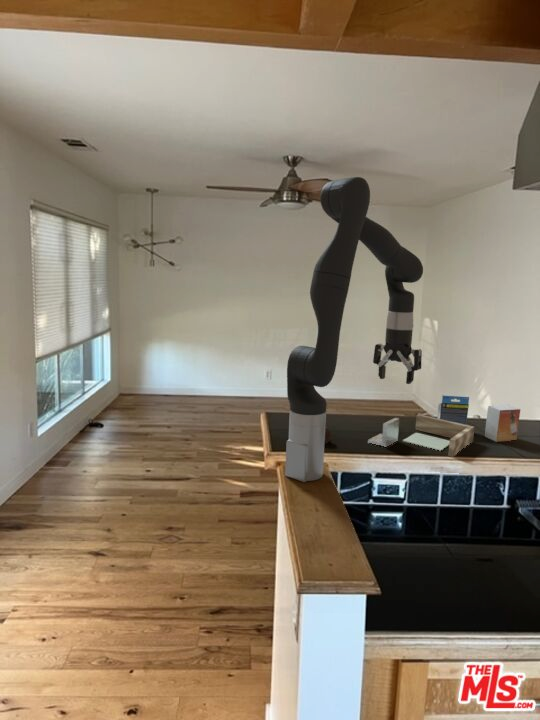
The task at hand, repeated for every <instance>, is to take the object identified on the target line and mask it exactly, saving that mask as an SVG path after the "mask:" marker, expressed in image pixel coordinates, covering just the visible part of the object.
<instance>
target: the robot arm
mask: <svg viewBox="0 0 540 720" xmlns="http://www.w3.org/2000/svg"><path fill="white" fill-rule="evenodd" d="M368 183H369V182H368V181H367V180H366V179H365V178H363V177H361V176H351V177H346V178H345V177H344V178H339V179H335V180H331V181H328V182H327V183H325V184H324V185H323V187H322V189H321V191H320V197H319V200H320V205H321V208H322V210H323V211H324V213H325V214H326V215H327V216H328V217H330V218H331V220H333V221H335V222H336V223H337V225H338V226H337V228H336V231H335V233H334V235H333V237H332V239H331V240H330V243H329V244H327V245H326V246H327V247H326V248H325V249H324V251H323V252H322V254H321V255H320V256H319V258H318V260H317V261H316V264H315V265H314V268H313V272H312V273H313V274H312V278H311V284H310V290H309V295H310V302H311V305H312V308H313V311H314V316H315V318H316V323H317V338H316V342H315V343H316V344H315V347H312V346H308V345H299V346H296V347H294V348H293V349H292V350H291V352H290V354H289V356H288V360H287V365H286V380H287V381H286V390H287V391H286V394H287V400H288V402H289V418H288V419H289V421H288V440H286V443H285V444H286V448H285V449H286V450H285V476H286V477H288V478H291V479H294V480H297V481H300V482H303V483H306V482H310V481H317V480H319V479H321V478H322V477H323V476H324V458H325V445H326V444H325V427H326V422H327V400H326V398H325V397H323V396H322V395H321V394H320V393H319V392H318V391H317V390H316V388H315V387H318V388H324V387H327V386H328V385H329V384H330V383H331V382H332V380H333V378H334V376H335V373H336V367H337V362H338V355H339V353H338V352H339V346H340V336H341V335H340V334H341V327H342V321H343V318H344V311H345V307H346V306H345V305H346V302H347V298H348V292H349V289H350V285H351V284H350V283H351V280H352V279H351V277H352V273H353V272H352V271H353V266H354V261H355V257H356V253H357V249H358V246H359V245H358V244H359V241H360V242H361V243H362V244H363V245H364V246H365V247H366V248H367V249H368V251H370V252H371V254H372V255H373V256H374V257H375V258H376V260H377V261H378V262H380V264H382V265H384V266H385V269H384V277H385V282H386V286H387V293H388V296H389V299H388V310H387V311H388V312H387V316H386V327H385V328H386V329H385V341H384V342H385V344H382V343H378V344H375V346H374V353H373V359H372V363H373V364H375V365H376V366H378V373H377V374H378V375H377V376H378V377H379V379H380V380H384V379H385V378H386V371H387V370H386V368H387V366H386V365H387V363H388V362H391V361H392V362H398V363H402V364H403V365H404V366H405V367H406V370H407V371H406V381H405V382H406V383H405V384H407V385H410V384H412V383H413V382H414V378H415V376H414V375H415V371H418V370H422V358H423V357H422V356H423V355H422V352H423V350H422V349H421V348H419V349H418V348H417V349H415V348H412V342H413V333H414V331H413V330H414V306H415V295H414V293H413V292H412V291H409V290H407V289H405V287H404V284H403V283H407V284H409V283H410V284H412V283H416V282H418V281H419V280H421V278H422V276H423V275H424V274H423V273H424V266H423V263H422V261H421V260H420V258H418V257H417V255H415V254H414V253H413V252H411V251H410V250H409V249H407V248H406V247H403V246H402V245H401V243H400V242H399V241H398V240H397V239H396V238H395V237H394V235H393V234H392V233H391V232H390V230H388V229H387V228H386V227H384V226H383V225H381V224H379V223H378V222H376V221H374V220H372V219H370V218H369V217H368V216H367V215H368V211H369V207H370V202H371V201H370V200H371V189H370V186H369V184H368ZM383 351H384V352H385V355H384V356H383V357H382V352H383ZM411 354H412V357H413V360H412V359H411V357H410V356H411Z"/></svg>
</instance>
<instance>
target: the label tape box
mask: <svg viewBox="0 0 540 720" xmlns="http://www.w3.org/2000/svg"><path fill="white" fill-rule="evenodd" d="M441 397H442V399H441V403H438V407H437V416H436V418H438V419H442V420H447V421H451V422H456V423H460V424H465V425H467V424H468V423H467V421H468V415H469V414H468V413H469V405H470V396H457V395H456V396H455V395H444V394H442V396H441ZM453 400H454V401H453ZM455 400H457V401H455Z"/></svg>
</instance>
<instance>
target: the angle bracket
mask: <svg viewBox="0 0 540 720" xmlns="http://www.w3.org/2000/svg"><path fill="white" fill-rule="evenodd" d="M399 428H400V418H399V417H394V418H392V419H390V420H388V421H386V422H383V423H382V433H379V434H377V435H375V436H373V437H371V438H369V439H368V440H367V444H369V443H372V444H376V445H381V446H384V447H387V446H389V445H391V444H392V445H394V444H395V443H394V442H396V441H398V440H399V439H398V438H399ZM398 442H399V441H398ZM393 443H394V444H393ZM396 443H397V442H396ZM372 444H371V445H372ZM376 445H375V446H376ZM392 445H391V446H392ZM389 447H390V446H389ZM387 448H388V447H387Z"/></svg>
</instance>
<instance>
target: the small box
mask: <svg viewBox="0 0 540 720" xmlns="http://www.w3.org/2000/svg"><path fill="white" fill-rule="evenodd" d="M520 416H521V409H520V408H519V407H516V406H513V405H510V404H505V405H504V404H503V405H501V404H499V405H488V406H487V413H486V420H485V421H486V422H485V430H484V437H485V438H487V439H490V440H491V441H494V442H496V443H497V442H499V443H500V442H512V441H511V440H516V441H517V437H518V430H519V424H520V423H519V422H520Z"/></svg>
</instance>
